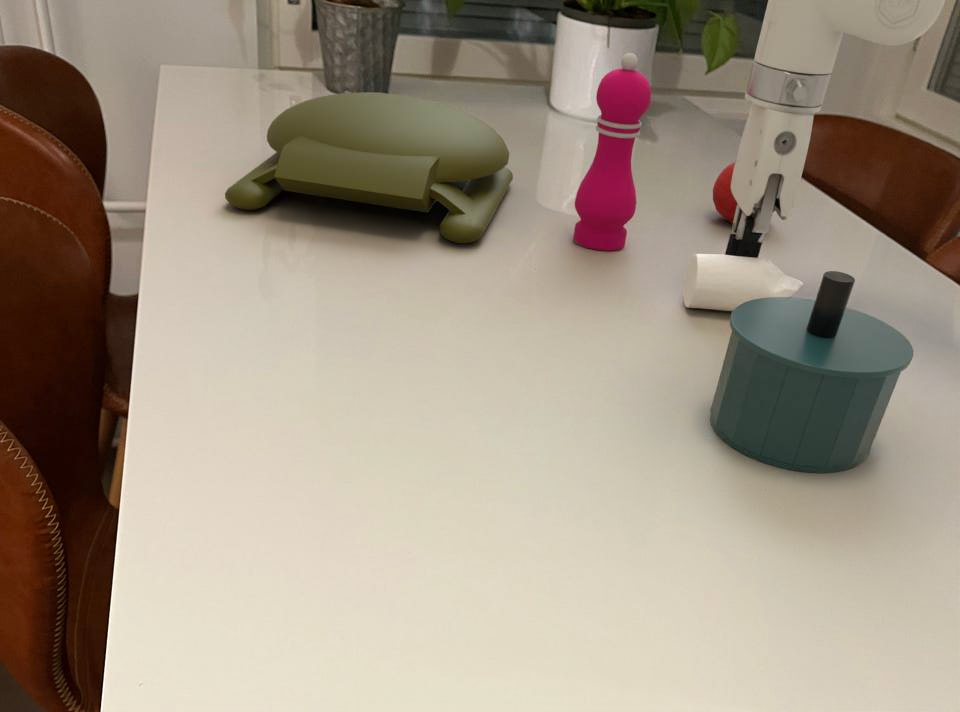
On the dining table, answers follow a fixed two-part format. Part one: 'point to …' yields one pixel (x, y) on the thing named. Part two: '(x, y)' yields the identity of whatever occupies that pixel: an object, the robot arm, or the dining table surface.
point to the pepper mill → (612, 160)
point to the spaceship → (384, 158)
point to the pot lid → (822, 333)
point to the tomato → (725, 194)
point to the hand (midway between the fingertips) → (736, 274)
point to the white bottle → (733, 281)
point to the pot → (796, 412)
